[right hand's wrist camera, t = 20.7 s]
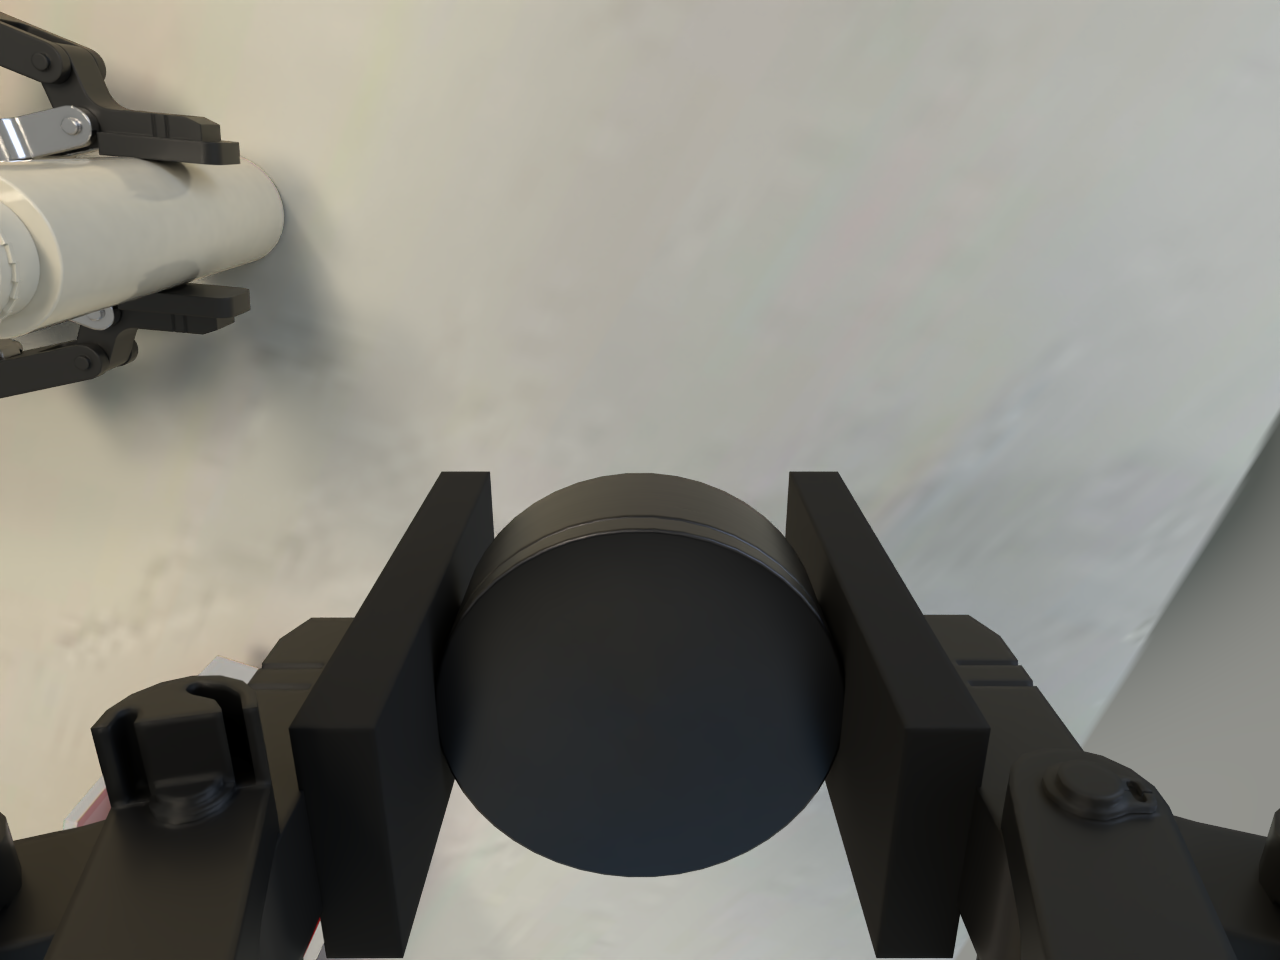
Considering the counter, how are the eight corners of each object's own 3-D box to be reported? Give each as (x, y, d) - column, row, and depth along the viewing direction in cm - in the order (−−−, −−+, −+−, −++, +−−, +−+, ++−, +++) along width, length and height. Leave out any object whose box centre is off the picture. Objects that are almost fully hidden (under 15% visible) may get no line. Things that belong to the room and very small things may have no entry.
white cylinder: (283, 271, 37) (29, 366, 22) (177, 254, 37) (-154, 337, 21) (286, 163, 35) (16, 182, 20) (176, 144, 35) (-183, 149, 20)
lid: (418, 510, 11) (379, 573, 10) (791, 439, 11) (818, 491, 9) (512, 807, 13) (493, 905, 11) (839, 753, 13) (869, 845, 11)
